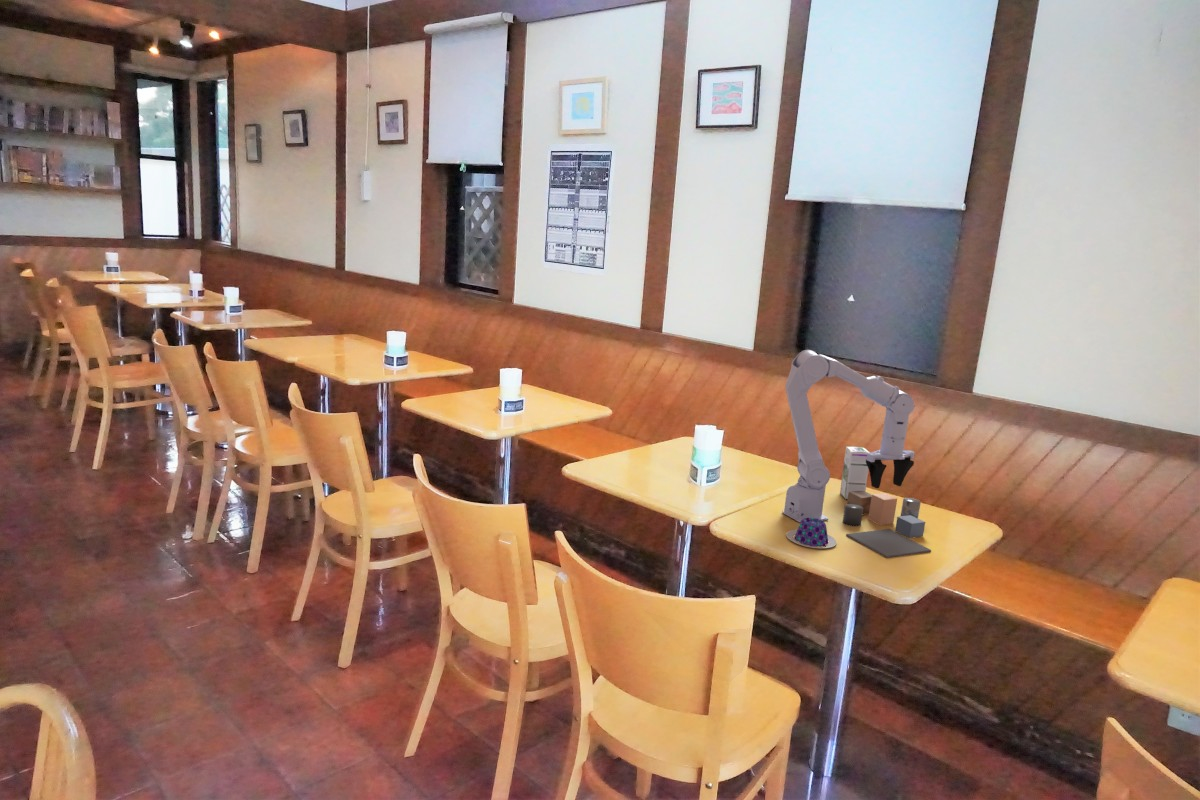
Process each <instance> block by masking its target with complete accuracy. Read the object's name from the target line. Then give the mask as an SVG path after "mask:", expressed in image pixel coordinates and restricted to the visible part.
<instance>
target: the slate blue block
mask: <svg viewBox="0 0 1200 800" xmlns="http://www.w3.org/2000/svg"><path fill="white" fill-rule="evenodd" d="M925 526H926V521H924V520H922V519H920V518H919V517H918V518H915V517H913V516H911V515H908V516H901V515H900V516H896V524H895V529H894V530H895V531H894V532H896V531H897V532H896V533H898V534H900V535H902V536H904V537H906V538H908V537H909V538H908V539H913V537H915V538H920V536H923V537H924V533H925V528H926V527H925Z"/></svg>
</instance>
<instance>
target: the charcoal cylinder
mask: <svg viewBox="0 0 1200 800" xmlns="http://www.w3.org/2000/svg"><path fill="white" fill-rule="evenodd" d="M862 514H863V507H861V506H859V505H855V504H847V503H846V504H845V505H844V510H843V517H842V523H843V524H844V523H845V524H844V525H846V524H847V525H846V526H849V525H850V527H860V526H861V525H862V520H863V515H862Z"/></svg>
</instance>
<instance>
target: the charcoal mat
mask: <svg viewBox="0 0 1200 800" xmlns="http://www.w3.org/2000/svg"><path fill="white" fill-rule="evenodd" d="M845 537H848V538H849V539H851V540H853V541H855V542H857V543H858V544H861V545H862V546H864V547H866V548H867V549H869V548H870V550H871V551H874V552H876V553H877V554H879V555H880V556H882V555H883V557H884V558H886V559H890V558H897V557H903V556H904V555H905V556H911V554H912V555H918V553H919V554H924V553H925V552H926V553H931V552H932V549H930V548H928V547H926V546H924V545H922V544H921V543H918V542H916V541H914V540H912V539H911V538H908V537H906V536H904V535H902V534H900V533H898V532H896V531H894V530H893V529H891V528H884V529H878V530H877V529H876V530H869V531H868V530H867V531H859V532H852V533H851V532H850V533H846V534H845Z"/></svg>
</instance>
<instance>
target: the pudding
mask: <svg viewBox="0 0 1200 800" xmlns="http://www.w3.org/2000/svg"><path fill="white" fill-rule="evenodd" d="M827 528H828V527H827V524H826V522H824V520H819V519H816V518H804V519H802V520H801V522H799V525H798V526H797V529H792V530H789V531H788V532H786V534H785V535H786V538H787V539H788V540H789V541H791V542H793V543H795V544H797V545H799V546H803V547H806V548H813V549H829V548H833V547H835V546H836V545H837V540H836V539H835V538H834V537H833V536H831V535H830V534H828V530H827ZM794 535H795V536H794ZM793 536H794V537H793ZM793 538H794V539H793ZM828 541H829V542H828ZM827 545H828V546H827ZM821 546H823V547H821ZM824 546H826V547H824Z"/></svg>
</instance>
